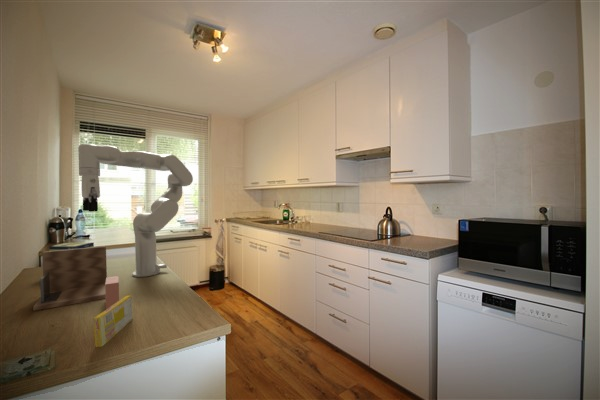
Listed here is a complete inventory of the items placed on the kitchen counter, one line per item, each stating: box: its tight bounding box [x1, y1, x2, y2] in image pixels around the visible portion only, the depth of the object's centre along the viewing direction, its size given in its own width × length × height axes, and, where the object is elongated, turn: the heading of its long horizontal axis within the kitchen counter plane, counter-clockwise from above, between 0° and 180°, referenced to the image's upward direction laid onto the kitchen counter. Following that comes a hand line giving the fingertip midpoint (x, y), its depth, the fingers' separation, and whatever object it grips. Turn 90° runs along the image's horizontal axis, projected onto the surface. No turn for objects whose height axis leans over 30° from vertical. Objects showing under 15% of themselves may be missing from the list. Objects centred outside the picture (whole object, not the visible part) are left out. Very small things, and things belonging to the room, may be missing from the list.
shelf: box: [32, 245, 108, 311], centre depth 111 cm, size 21×18×18 cm
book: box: [105, 275, 120, 310], centre depth 105 cm, size 4×10×9 cm, turn 33°
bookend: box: [39, 272, 62, 303], centre depth 107 cm, size 4×11×9 cm, turn 33°
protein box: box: [48, 242, 95, 251], centre depth 145 cm, size 10×16×16 cm
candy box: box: [93, 295, 134, 348], centre depth 83 cm, size 16×2×8 cm, turn 5°
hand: (90, 210), depth 123 cm, fingers open, 9 cm apart
